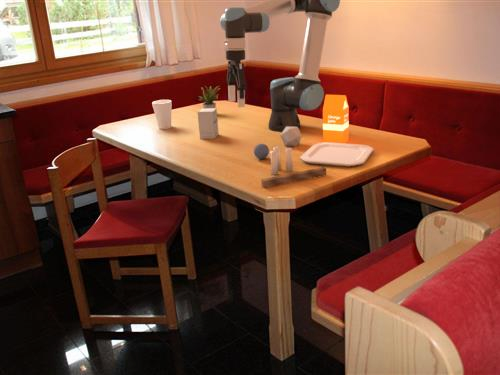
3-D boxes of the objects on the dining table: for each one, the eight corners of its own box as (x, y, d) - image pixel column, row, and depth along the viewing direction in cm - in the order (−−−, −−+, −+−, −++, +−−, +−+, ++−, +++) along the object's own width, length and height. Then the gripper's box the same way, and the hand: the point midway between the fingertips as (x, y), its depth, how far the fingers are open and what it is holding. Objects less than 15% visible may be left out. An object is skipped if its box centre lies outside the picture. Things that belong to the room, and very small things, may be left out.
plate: (361, 170, 188) (361, 165, 188) (296, 165, 199) (296, 159, 198) (376, 150, 209) (376, 145, 208) (316, 146, 219) (316, 141, 219)
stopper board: (323, 173, 187) (323, 167, 186) (326, 175, 185) (326, 168, 184) (261, 186, 179) (261, 179, 178) (264, 188, 177) (263, 181, 176)
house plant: (230, 112, 286) (227, 82, 280) (218, 118, 274) (216, 87, 268) (207, 111, 292) (204, 81, 286) (194, 117, 280) (191, 86, 274)
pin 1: (276, 172, 191) (275, 150, 188) (279, 174, 189) (278, 151, 186) (270, 173, 191) (269, 151, 187) (273, 175, 188) (272, 152, 185)
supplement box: (215, 138, 238) (212, 111, 234) (199, 139, 240) (196, 111, 235) (219, 134, 245) (216, 107, 240) (204, 134, 246) (201, 108, 242)
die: (290, 150, 217) (303, 131, 215) (274, 139, 219) (287, 120, 217) (295, 152, 224) (308, 133, 222) (279, 140, 227) (292, 122, 225)
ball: (265, 155, 211) (265, 140, 209) (271, 159, 206) (271, 144, 204) (252, 157, 209) (251, 143, 207) (257, 161, 204) (256, 147, 202)
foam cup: (152, 129, 262) (148, 103, 257) (161, 124, 270) (158, 99, 265) (168, 130, 258) (165, 104, 254) (177, 125, 266) (174, 99, 261)
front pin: (279, 167, 196) (278, 146, 193) (281, 169, 194) (281, 147, 191) (273, 168, 195) (272, 147, 192) (276, 170, 193) (275, 148, 190)
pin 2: (291, 169, 193) (290, 147, 190) (294, 171, 191) (293, 149, 188) (285, 170, 193) (284, 148, 189) (288, 172, 190) (287, 150, 187)
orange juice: (329, 138, 228) (328, 92, 221) (348, 139, 224) (349, 93, 217) (322, 143, 222) (322, 96, 214) (343, 145, 218) (343, 97, 210)
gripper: (218, 47, 213) (219, 99, 220) (234, 52, 191) (236, 109, 197) (235, 47, 215) (236, 98, 222) (254, 51, 193) (254, 108, 199)
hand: (236, 104), depth 210 cm, fingers open, 13 cm apart
